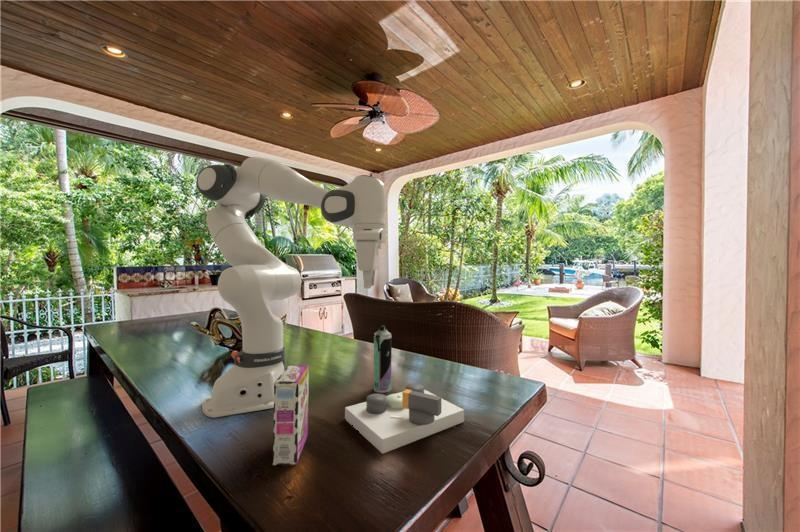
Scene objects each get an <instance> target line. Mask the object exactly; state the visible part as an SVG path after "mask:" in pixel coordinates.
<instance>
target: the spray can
mask: <svg viewBox="0 0 800 532" xmlns="http://www.w3.org/2000/svg"><path fill="white" fill-rule="evenodd" d="M373 391H374V392H375V393H377V394H385V393H389V392H391V391H392V333H391V332H389V331H388V329H387V328H386V325H381V326H379V329H378V330H377V331H376V332H374V336H373Z"/></svg>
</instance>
